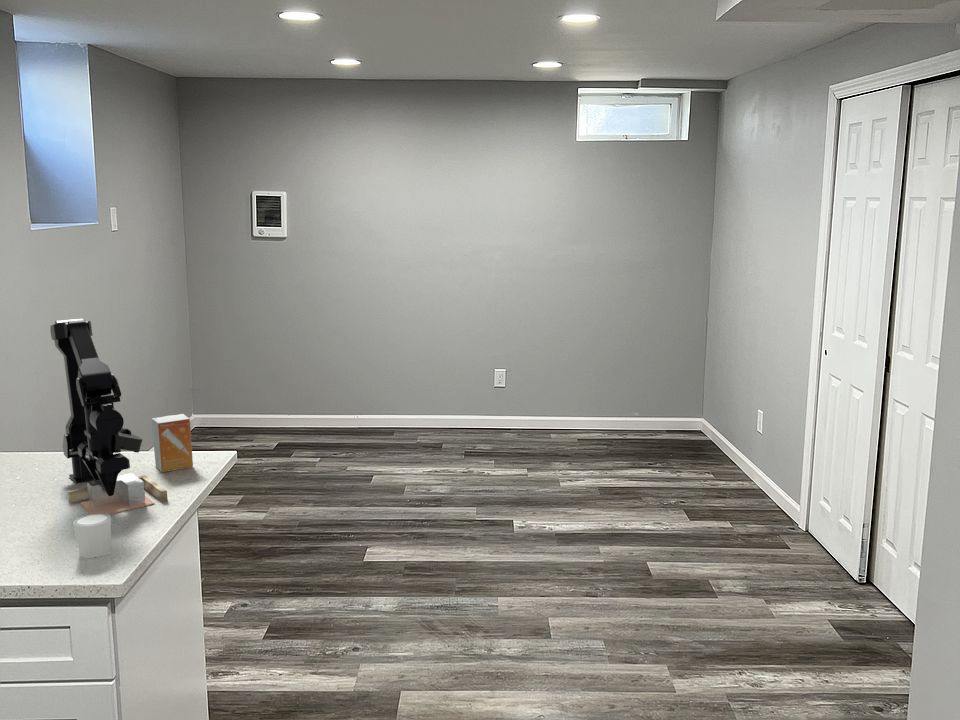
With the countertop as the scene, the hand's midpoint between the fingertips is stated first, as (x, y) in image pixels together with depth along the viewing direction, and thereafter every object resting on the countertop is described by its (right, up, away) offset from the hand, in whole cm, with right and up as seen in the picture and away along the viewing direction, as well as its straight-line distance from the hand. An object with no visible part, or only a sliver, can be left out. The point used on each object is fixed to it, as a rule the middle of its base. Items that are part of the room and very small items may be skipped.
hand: (106, 491), depth 205 cm
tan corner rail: (+2, -2, +2) cm, 4 cm away
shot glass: (+9, -8, -27) cm, 30 cm away
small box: (+7, +2, +26) cm, 27 cm away
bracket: (+3, -2, 0) cm, 4 cm away
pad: (+3, -3, 0) cm, 4 cm away
